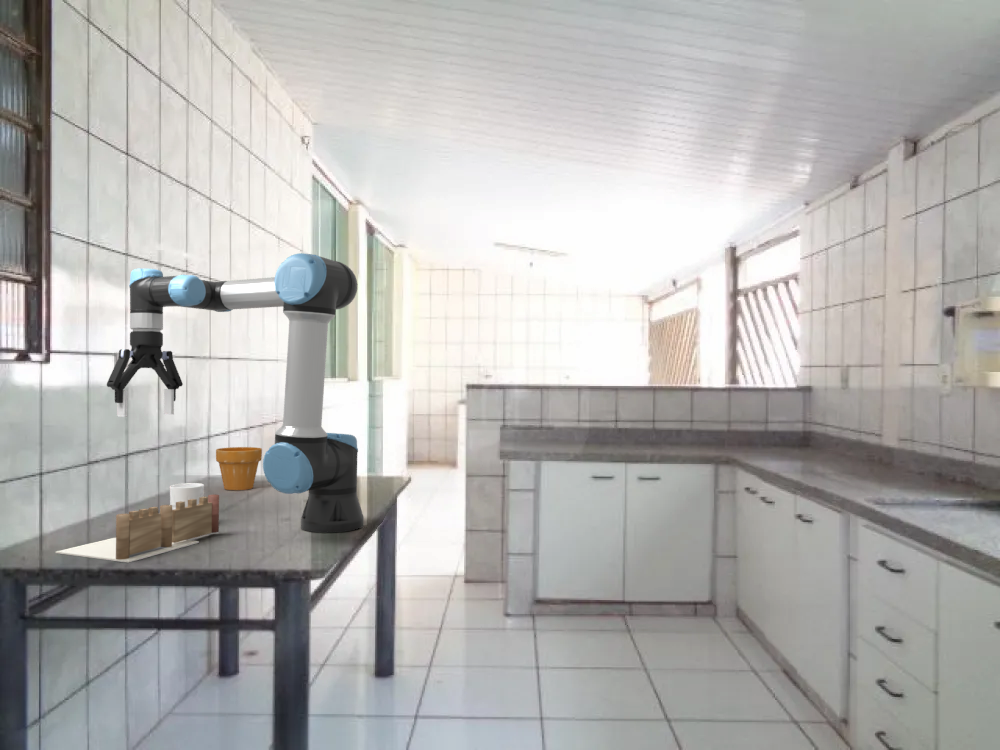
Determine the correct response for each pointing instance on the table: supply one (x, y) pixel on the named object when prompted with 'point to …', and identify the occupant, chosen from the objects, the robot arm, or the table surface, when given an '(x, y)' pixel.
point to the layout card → (108, 550)
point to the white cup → (185, 493)
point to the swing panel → (195, 518)
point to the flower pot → (238, 466)
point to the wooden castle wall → (143, 530)
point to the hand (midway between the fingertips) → (146, 415)
